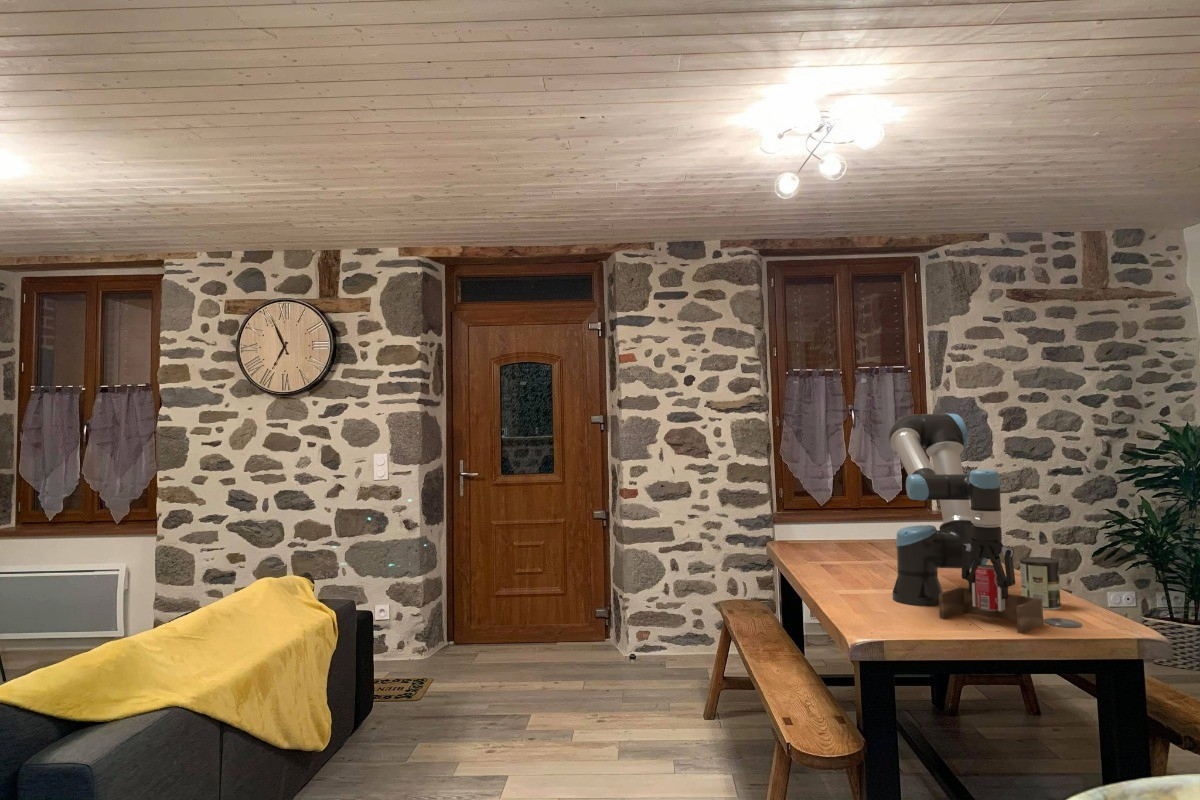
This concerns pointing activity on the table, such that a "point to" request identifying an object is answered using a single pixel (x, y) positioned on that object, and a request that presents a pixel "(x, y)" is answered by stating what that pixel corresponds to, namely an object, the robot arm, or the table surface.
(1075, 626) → the slate coaster
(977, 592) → the beverage can
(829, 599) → the table surface
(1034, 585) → the coffee can
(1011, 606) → the walnut u-shaped barrier
